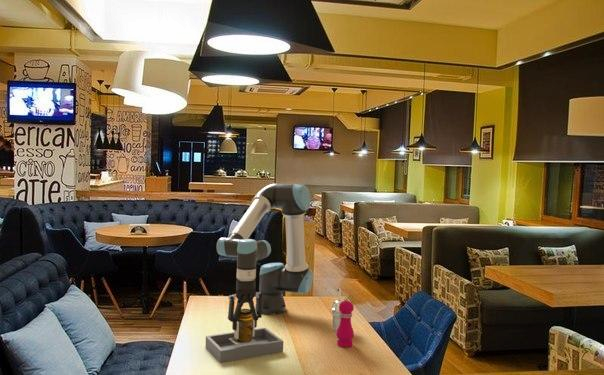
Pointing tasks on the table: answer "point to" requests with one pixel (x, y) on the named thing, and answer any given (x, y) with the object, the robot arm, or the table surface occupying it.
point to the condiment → (244, 327)
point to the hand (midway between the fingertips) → (244, 336)
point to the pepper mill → (345, 324)
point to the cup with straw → (336, 312)
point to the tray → (243, 346)
